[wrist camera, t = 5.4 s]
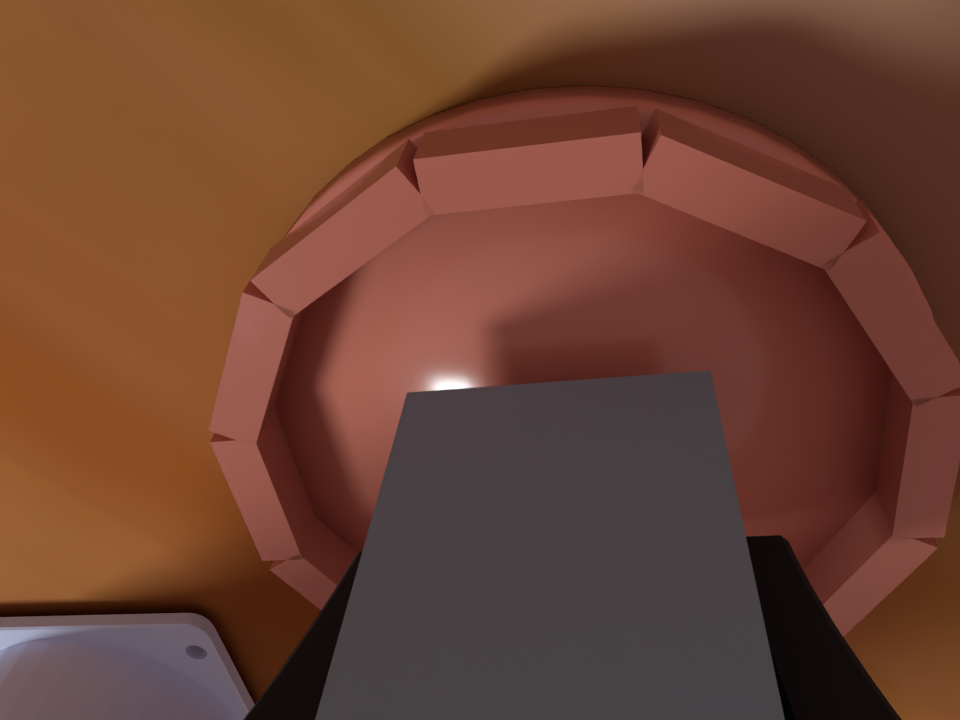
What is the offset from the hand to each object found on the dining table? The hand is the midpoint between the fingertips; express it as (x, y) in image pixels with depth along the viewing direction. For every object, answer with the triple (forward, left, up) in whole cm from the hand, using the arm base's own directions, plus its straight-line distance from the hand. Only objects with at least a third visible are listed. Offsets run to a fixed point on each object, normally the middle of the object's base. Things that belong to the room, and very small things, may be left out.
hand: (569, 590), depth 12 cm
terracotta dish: (0, 0, -4) cm, 4 cm away
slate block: (0, 0, -2) cm, 2 cm away
